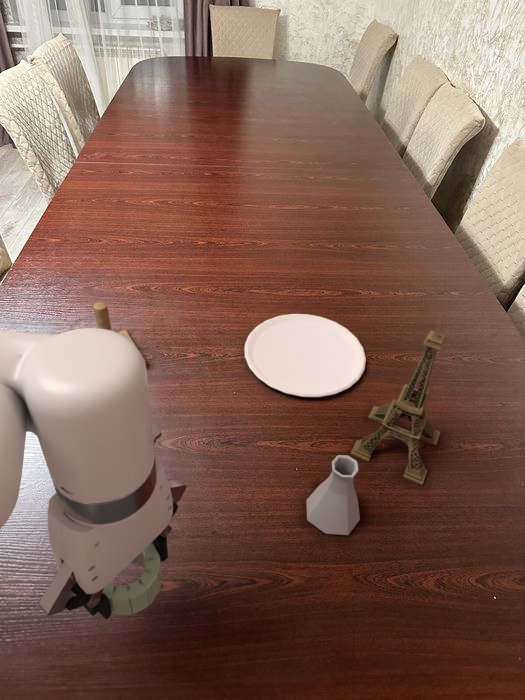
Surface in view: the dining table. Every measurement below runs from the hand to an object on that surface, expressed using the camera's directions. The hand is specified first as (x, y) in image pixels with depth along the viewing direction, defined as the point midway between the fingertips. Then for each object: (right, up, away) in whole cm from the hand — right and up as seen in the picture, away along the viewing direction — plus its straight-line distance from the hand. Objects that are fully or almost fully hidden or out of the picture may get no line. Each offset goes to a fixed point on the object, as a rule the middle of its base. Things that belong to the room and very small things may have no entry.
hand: (128, 577), depth 52 cm
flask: (+22, +1, +16) cm, 28 cm away
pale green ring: (0, -1, +1) cm, 1 cm away
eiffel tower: (+33, +9, +25) cm, 42 cm away
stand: (-12, +21, +35) cm, 42 cm away
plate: (+21, +21, +38) cm, 48 cm away
